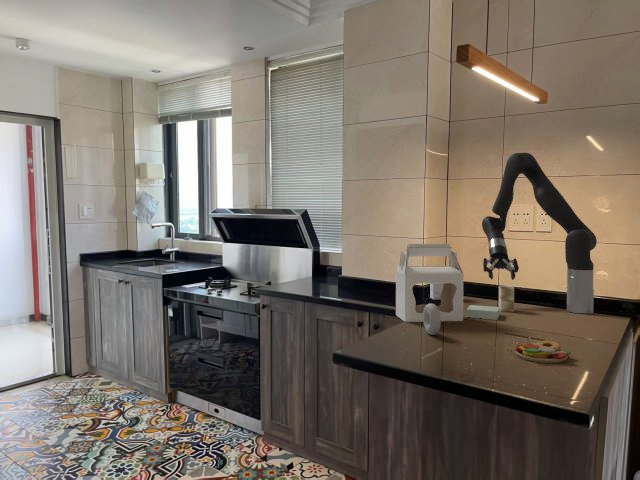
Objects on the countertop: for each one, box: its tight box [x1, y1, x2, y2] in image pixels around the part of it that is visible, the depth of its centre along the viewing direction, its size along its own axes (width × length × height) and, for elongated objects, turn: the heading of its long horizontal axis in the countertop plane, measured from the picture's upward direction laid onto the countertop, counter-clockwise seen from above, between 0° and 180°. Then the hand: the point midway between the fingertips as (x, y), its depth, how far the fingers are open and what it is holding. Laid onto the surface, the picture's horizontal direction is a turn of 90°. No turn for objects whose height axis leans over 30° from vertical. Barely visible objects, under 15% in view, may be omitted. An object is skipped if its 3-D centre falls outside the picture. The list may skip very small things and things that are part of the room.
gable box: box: [395, 243, 464, 323], centre depth 178 cm, size 22×13×28 cm, turn 95°
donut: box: [422, 303, 442, 336], centre depth 151 cm, size 10×4×10 cm, turn 5°
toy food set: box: [514, 340, 571, 364], centre depth 126 cm, size 13×13×3 cm
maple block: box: [498, 284, 515, 313], centre depth 195 cm, size 5×5×10 cm
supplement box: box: [429, 283, 444, 301], centre depth 227 cm, size 9×9×15 cm
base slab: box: [465, 304, 501, 321], centre depth 183 cm, size 11×11×4 cm
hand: (502, 278), depth 203 cm, fingers open, 8 cm apart
